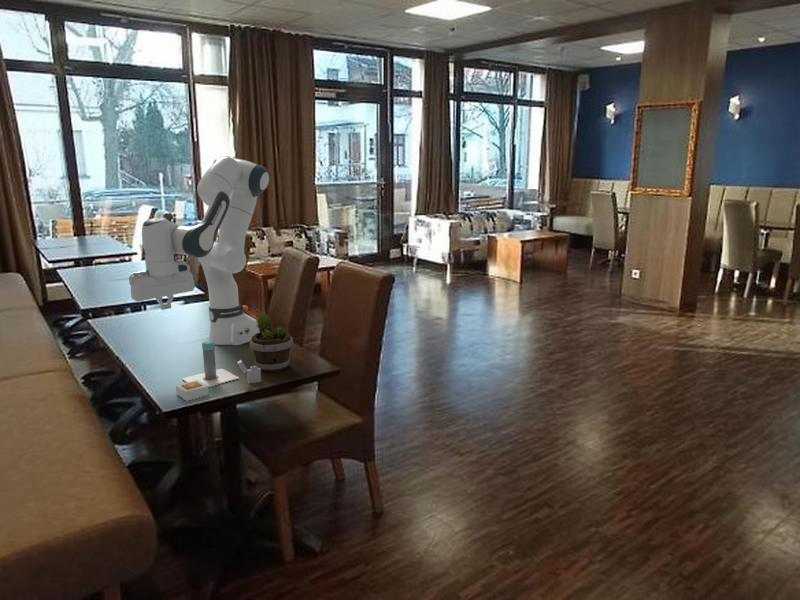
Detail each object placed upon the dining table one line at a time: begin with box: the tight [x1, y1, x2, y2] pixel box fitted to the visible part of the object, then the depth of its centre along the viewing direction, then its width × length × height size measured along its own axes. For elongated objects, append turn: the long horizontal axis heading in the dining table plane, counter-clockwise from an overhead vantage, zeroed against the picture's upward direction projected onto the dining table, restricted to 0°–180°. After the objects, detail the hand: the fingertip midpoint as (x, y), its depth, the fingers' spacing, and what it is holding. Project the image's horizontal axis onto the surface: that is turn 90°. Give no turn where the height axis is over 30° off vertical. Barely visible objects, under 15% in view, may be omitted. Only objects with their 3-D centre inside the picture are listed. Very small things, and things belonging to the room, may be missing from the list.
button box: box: [175, 380, 209, 402], centre depth 179 cm, size 7×7×3 cm
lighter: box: [237, 359, 262, 384], centre depth 188 cm, size 7×2×8 cm, turn 120°
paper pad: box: [181, 367, 240, 388], centre depth 191 cm, size 14×12×1 cm
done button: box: [184, 382, 200, 390], centre depth 179 cm, size 4×4×2 cm
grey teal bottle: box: [201, 340, 217, 380], centre depth 190 cm, size 4×4×12 cm
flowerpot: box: [249, 311, 294, 373], centre depth 201 cm, size 14×15×20 cm
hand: (166, 308), depth 194 cm, fingers closed
